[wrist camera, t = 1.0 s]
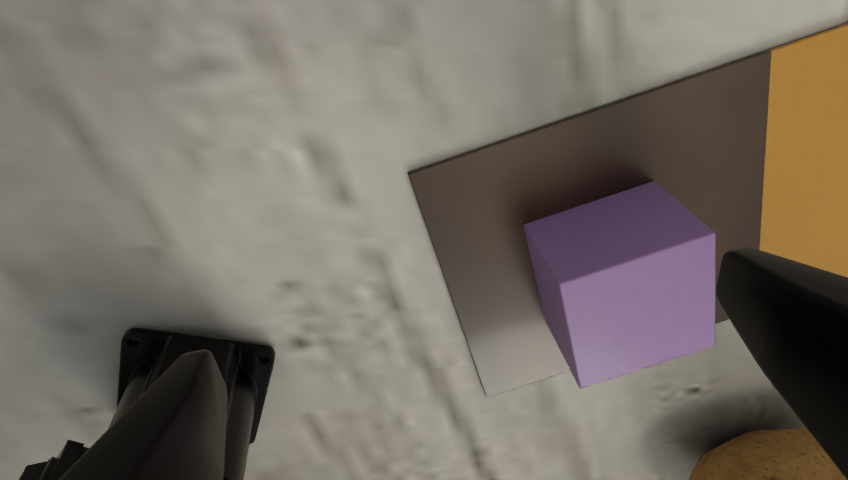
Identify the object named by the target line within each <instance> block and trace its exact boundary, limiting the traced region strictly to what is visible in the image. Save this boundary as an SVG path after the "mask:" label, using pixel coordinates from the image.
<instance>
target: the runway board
mask: <svg viewBox="0 0 848 480" xmlns="http://www.w3.org/2000/svg"><path fill="white" fill-rule="evenodd" d="M770 62H771V51H765V52H762V53H759V54H756V55H753V56H750V57H747V58H744V59H741V60H738V61H735V62H732V63H729V64H727V65H724V66H721V67H718V68H715V69H712V70H709V71H706V72H703V73H700V74H697V75H694V76H691V77H688V78H685V79H683V80H680V81H677V82H674V83H671V84H668V85H665V86H662V87H659V88H656V89H653V90H650V91H647V92H644V93H641V94H638V95H636V96H633V97H630V98H627V99H624V100H621V101H618V102H615V103H612V104H609V105H606V106H603V107H600V108H597V109H594V110H592V111H589V112H586V113H583V114H580V115H577V116H574V117H571V118H568V119H565V120H562V121H559V122H556V123H553V124H550V125H548V126H545V127H542V128H539V129H536V130H533V131H530V132H527V133H524V134H521V135H518V136H515V137H512V138H509V139H506V140H503V141H501V142H498V143H495V144H492V145H489V146H486V147H483V148H480V149H477V150H474V151H471V152H468V153H465V154H462V155H459V156H457V157H454V158H451V159H448V160H445V161H442V162H439V163H436V164H433V165H430V166H427V167H424V168H421V169H418V170H415V171H412V172H410V173H408V175H409V178H410V181H411V184H412V186H413V189H414V192H415V195H416V198H417V201H418V204H419V206H420V209H421V212H422V215H423V218H424V221H425V223H426V226H427V229H428V232H429V235H430V238H431V241H432V243H433V246H434V249H435V252H436V255H437V258H438V260H439V263H440V266H441V269H442V272H443V275H444V278H445V280H446V283H447V286H448V289H449V292H450V295H451V297H452V300H453V303H454V306H455V309H456V312H457V315H458V317H459V320H460V323H461V326H462V329H463V332H464V334H465V337H466V340H467V343H468V346H469V349H470V352H471V354H472V357H473V360H474V363H475V366H476V369H477V371H478V374H479V377H480V380H481V383H482V386H483V389H484V391H485V394H486V397H490V396H493V395H496V394H499V393H502V392H505V391H508V390H511V389H515V388H518V387H521V386H524V385H527V384H530V383H533V382H536V381H539V380H542V379H545V378H549V377H552V376H555V375H558V374H561V373H564V372H567V371H570V368H569V366H568V364H567V362H566V360H565V359H564V357H563V355H562V353H561V351H560V349H559V347H558V345H557V343H556V341H555V339H554V337H553V335H552V333H551V331H550V329H549V328H548V326H547V324H546V322H545V318H544V313H543V309H542V305H541V300H540V296H539V292H538V287H537V283H536V279H535V275H534V270H533V266H532V262H531V257H530V253H529V249H528V244H527V240H526V236H525V231H524V227H523V226H524V224H527V223H530V222H532V221H535V220H538V219H541V218H544V217H547V216H550V215H553V214H556V213H559V212H562V211H565V210H568V209H571V208H574V207H577V206H580V205H583V204H586V203H589V202H592V201H595V200H598V199H601V198H604V197H607V196H610V195H613V194H616V193H619V192H622V191H625V190H628V189H631V188H634V187H637V186H640V185H643V184H646V183H649V182H652V181H655V182H656V183H657V184H658V185H660V186H661V187H662V188H663V189H664V190H665V191H667V192H668V193H669V194H670V195H671V196H673V197H674V198H675V199H676V200H677V201H679V202H680V203H681V204H682V205H683V206H684V207H686V208H687V209H688V210H689V211H690V212H692V213H693V214H694V215H695V216H696V217H698V218H699V219H700V220H701V221H702V222H703V223H705V224H706V225H707V226H708V227H709V228H711V229H712V230H713V231H714V232H715V323H719V322H722V321H725V320H728V319H729V317H728V316H727V314H726V313H725V311H724V310H723V308H722V306H721V305H720V303H719V301H718V299H717V295H716V284H717V280H718V275H719V270H720V266H721V261H722V257H723V255H724V254H725V253H726V252H728V251H730V250H735V249H740V248H746V247H751V248H755V249H758V250H759V246H760V230H761V213H762V196H763V179H764V163H765V146H766V129H767V113H768V96H769V79H770Z"/></svg>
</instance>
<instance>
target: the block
mask: <svg viewBox="0 0 848 480" xmlns="http://www.w3.org/2000/svg"><path fill="white" fill-rule="evenodd" d="M523 227H524V231H525V236H526V240H527V244H528V249H529V253H530V257H531V262H532V266H533V270H534V275H535V279H536V283H537V287H538V292H539V296H540V300H541V305H542V309H543V313H544V318H545V322H546V324H547V326H548V328H549V329H550V331H551V333H552V335H553V337H554V339H555V341H556V343H557V345H558V347H559V349H560V351H561V353H562V355H563V357H564V359H565V360H566V362H567V364H568V366H569V368H570V370H571V372H572V374H573V376H574V378H575V380H576V382H577V384H578V386H579V387H580V388H584V387H587V386H590V385H594V384H597V383H600V382H603V381H606V380H609V379H612V378H615V377H618V376H621V375H625V374H628V373H631V372H634V371H637V370H640V369H643V368H646V367H649V366H653V365H656V364H659V363H662V362H665V361H668V360H671V359H674V358H677V357H680V356H684V355H687V354H690V353H693V352H696V351H699V350H702V349H705V348H708V347H712V346H714V345H715V232H714V231H713V230H712V229H711V228H709V227H708V226H707V225H706V224H705V223H703V222H702V221H701V220H700V219H699V218H698V217H696V216H695V215H694V214H693V213H692V212H690V211H689V210H688V209H687V208H686V207H684V206H683V205H682V204H681V203H680V202H679V201H677V200H676V199H675V198H674V197H673V196H671V195H670V194H669V193H668V192H667V191H665V190H664V189H663V188H662V187H661V186H660V185H658V184H657V183H656V182H655V181H652V182H649V183H646V184H643V185H640V186H637V187H634V188H631V189H628V190H625V191H622V192H619V193H616V194H613V195H610V196H607V197H604V198H601V199H598V200H595V201H592V202H589V203H586V204H583V205H580V206H577V207H574V208H571V209H568V210H565V211H562V212H559V213H556V214H553V215H550V216H547V217H544V218H541V219H538V220H535V221H532V222H530V223H527V224H524V226H523Z"/></svg>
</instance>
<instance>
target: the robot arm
mask: <svg viewBox="0 0 848 480" xmlns="http://www.w3.org/2000/svg"><path fill="white" fill-rule="evenodd" d="M716 295H717V299H718V301H719V303H720V305H721V306H722V308H723V310H724V311H725V313H726V314H727V316H728V317H729V319H730V321H731V322H732V324H733V325H734V327H735V329H736V330H737V332H738V333H739V335H740V337H741V338H742V340H743V341H744V343H745V345H746V346H747V348H748V349H749V351H750V353H751V354H752V356H753V357H754V359H755V360H756V362H757V363H758V365H759V366H760V368H761V369H762V371H763V372H764V374H765V375H766V376H767V378H768V379H769V380H770V382H771V383H772V384H773V386H774V387H775V388H776V390H777V391H778V392H779V393H780V395H781V396H782V397H783V399H784V400H785V401H786V402H787V404H788V405H789V406H790V408H791V409H792V410H793V411H794V413H795V414H796V415H797V416H798V418H799V419H800V420H801V422H802V423H803V424H804V425H805V427H806V428H807V429H808V431H809V432H810V433H811V434H812V436H813V437H814V438H815V440H816V441H817V442H818V443H819V445H820V446H821V447H822V449H823V450H824V451H825V452H826V454H827V455H828V456H829V457H830V459H831V460H832V461H833V463H834V464H835V465H836V466H837V468H838V469H839V470H840V472H841V473H842V474H843V475H844V477H845V478H846V479H847V480H848V277H845V276H842V275H838V274H835V273H832V272H829V271H826V270H822V269H819V268H816V267H813V266H809V265H806V264H803V263H800V262H797V261H793V260H790V259H787V258H784V257H781V256H777V255H774V254H771V253H768V252H765V251H761V250H758V249H755V248H751V247H746V248H740V249H735V250H730V251H728V252H726V253H725V254H724V255H723V257H722V261H721V266H720V270H719V275H718V280H717V284H716ZM132 338H135V339H138V340H139V341H135V340H133V339H132ZM260 356H267V357H266V358H263V357H260ZM274 360H275V351H274V349H273V348H271V347H269V346H265V345H258V344H250V343H243V342H236V341H229V340H221V339H214V338H207V337H199V336H192V335H185V334H178V333H170V332H163V331H156V330H149V329H141V328H131V329H128V330H127V331H126V332H125V334H124V336H123V338H122V341H121V354H120V369H119V384H118V399H117V410H116V412H115V414H114V417H113V419H112V421H111V424H110V426H109V428H108V430H107V431H106V432H105V433H104V434H103V435H102V436H101V437H100V438H99V439H98V440H97V441H96V442H95V443H94V444H93V445H92V446H91V447H90V448H86V447H83V446H84V444H82V443H79V442H75V441H72V440H68V441H67V442H66V444H65V446H64V447H63V449H62V450H61V452H60V454H59V455H58V457H57V458H55V457H52V458H51V459H49V460H48V461H47V462H42V463H37V464H32V465H28V466H26V468H25V470H24V471H23V473H22V475H21V477H20V478H19V480H243V479H244V473H245V467H246V460H247V454H248V448H249V444H251V443H253V442H254V440H255V437H256V433H257V429H258V425H259V421H260V417H261V413H262V409H263V405H264V401H265V397H266V393H267V389H268V385H269V381H270V377H271V373H272V369H273V365H274Z"/></svg>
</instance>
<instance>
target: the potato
mask: <svg viewBox="0 0 848 480" xmlns="http://www.w3.org/2000/svg"><path fill="white" fill-rule="evenodd" d="M689 480H847V479H846V478H845V477H844V475H843V474H842V473H841V472H840V470H839V469H838V468H837V466H836V465H835V464H834V463H833V461H832V460H831V459H830V457H829V456H828V455H827V454H826V452H825V451H824V450H823V449H822V447H821V446H820V445H819V443H818V442H817V441H816V440H815V438H814V437H813V436H812V434H811V433H810V432H809V431H808V429H806V428H797V429H762V430H756V431H751V432H747V433H745V434H742V435H740V436H738V437H735V438H733V439H731V440H729V441H727V442H726V443H724V444H722V445H720V446H718V447H716V448H715V449H713V450H711V451H709V452H707V453H706V454H704V455H703V456H702V457H700V458H699V460H698V462H697V464H696V466H695V468H694V470H693V472H692V474H691V476H690V478H689Z"/></svg>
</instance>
